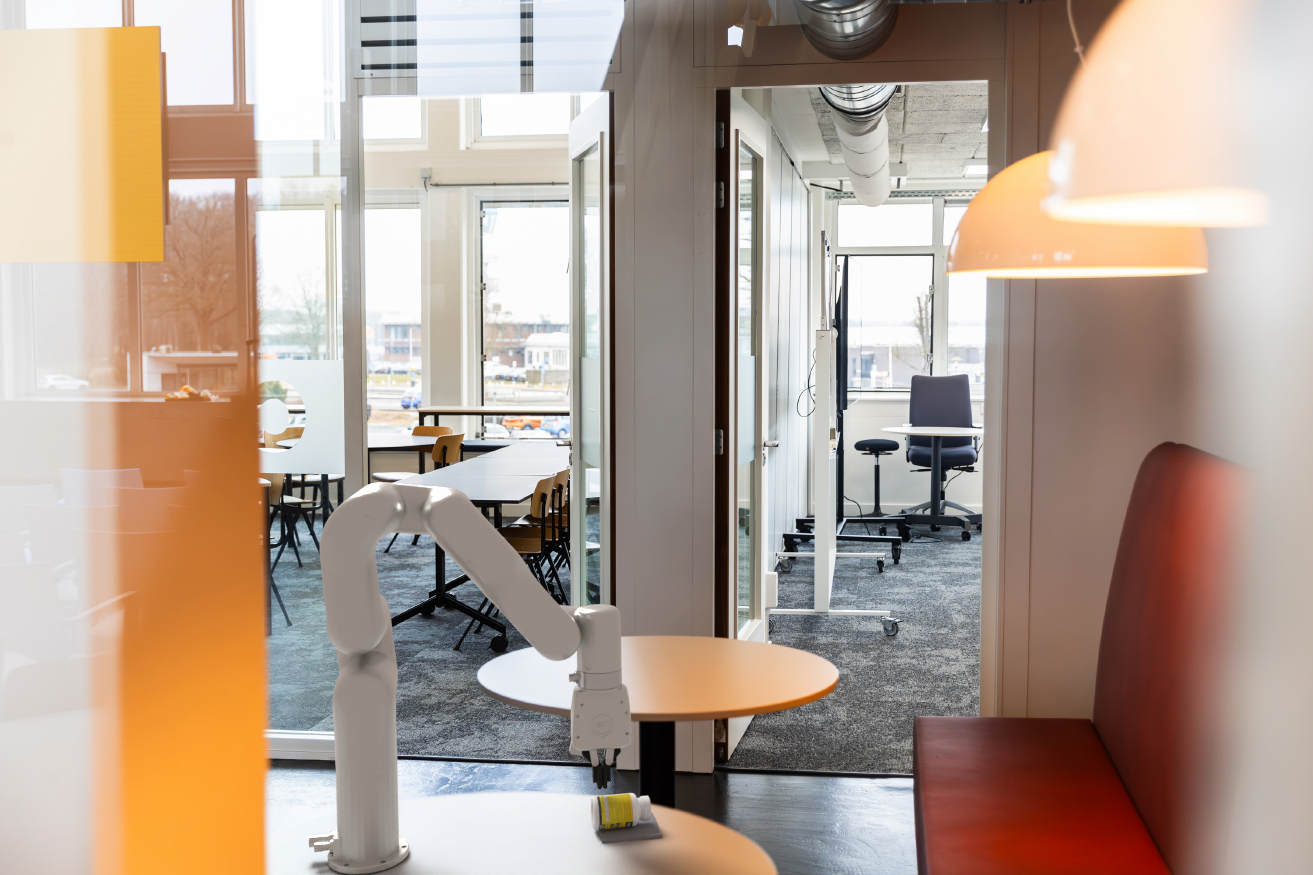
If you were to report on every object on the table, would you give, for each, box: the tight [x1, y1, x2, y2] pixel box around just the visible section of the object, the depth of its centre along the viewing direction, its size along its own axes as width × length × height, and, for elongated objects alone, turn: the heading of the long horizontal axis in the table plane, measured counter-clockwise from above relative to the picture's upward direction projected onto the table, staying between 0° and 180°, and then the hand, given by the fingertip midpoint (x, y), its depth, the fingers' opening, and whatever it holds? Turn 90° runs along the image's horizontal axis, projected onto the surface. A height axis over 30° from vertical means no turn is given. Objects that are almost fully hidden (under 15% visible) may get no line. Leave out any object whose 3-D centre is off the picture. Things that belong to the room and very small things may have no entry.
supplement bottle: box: [590, 792, 652, 831], centre depth 164 cm, size 5×5×10 cm
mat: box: [598, 812, 663, 844], centre depth 164 cm, size 10×9×1 cm
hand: (601, 785), depth 163 cm, fingers closed
